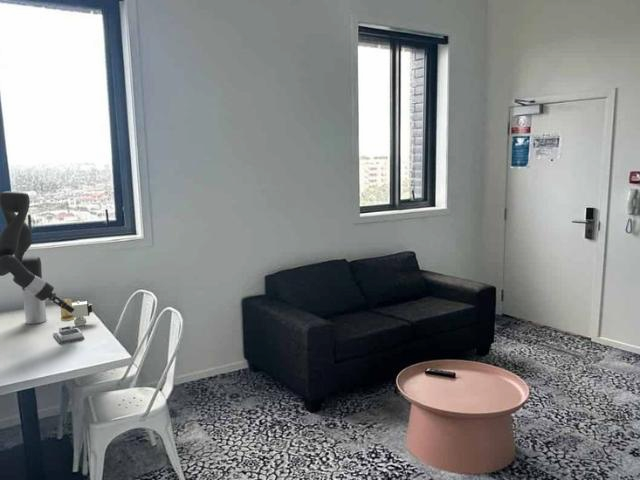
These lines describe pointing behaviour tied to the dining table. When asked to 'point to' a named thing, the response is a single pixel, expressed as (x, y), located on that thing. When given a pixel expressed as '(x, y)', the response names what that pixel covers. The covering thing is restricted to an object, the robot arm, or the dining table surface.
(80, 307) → the pneumatic valve
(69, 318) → the brass fitting
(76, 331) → the plate
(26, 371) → the dining table surface
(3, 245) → the robot arm
